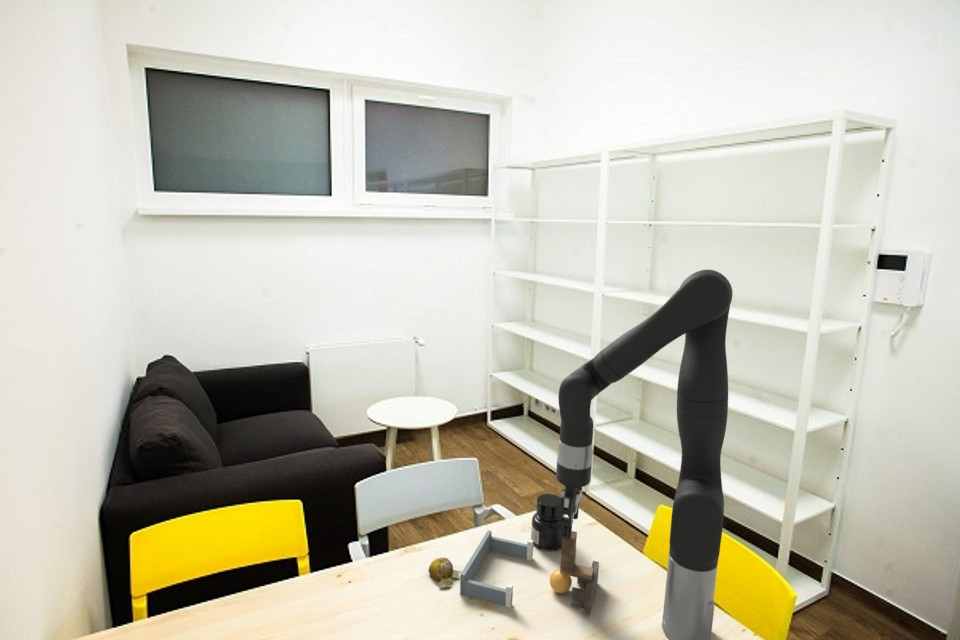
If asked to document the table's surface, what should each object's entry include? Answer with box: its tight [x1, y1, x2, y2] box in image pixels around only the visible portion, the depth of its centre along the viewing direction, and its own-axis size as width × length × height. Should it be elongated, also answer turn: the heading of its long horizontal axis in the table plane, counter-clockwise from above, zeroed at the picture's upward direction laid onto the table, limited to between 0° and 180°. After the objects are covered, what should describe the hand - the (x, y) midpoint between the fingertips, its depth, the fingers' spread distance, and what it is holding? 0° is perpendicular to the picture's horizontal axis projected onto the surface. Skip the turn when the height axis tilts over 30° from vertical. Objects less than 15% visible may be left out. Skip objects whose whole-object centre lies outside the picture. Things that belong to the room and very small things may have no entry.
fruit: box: [428, 557, 463, 590], centre depth 129 cm, size 8×8×4 cm
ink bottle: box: [530, 493, 562, 552], centre depth 143 cm, size 10×9×12 cm
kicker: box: [559, 530, 600, 616], centre depth 122 cm, size 8×12×14 cm, turn 160°
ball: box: [549, 568, 573, 594], centre depth 124 cm, size 5×5×5 cm
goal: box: [459, 529, 534, 609], centre depth 129 cm, size 12×19×5 cm, turn 160°
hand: (569, 527), depth 121 cm, fingers open, 8 cm apart
